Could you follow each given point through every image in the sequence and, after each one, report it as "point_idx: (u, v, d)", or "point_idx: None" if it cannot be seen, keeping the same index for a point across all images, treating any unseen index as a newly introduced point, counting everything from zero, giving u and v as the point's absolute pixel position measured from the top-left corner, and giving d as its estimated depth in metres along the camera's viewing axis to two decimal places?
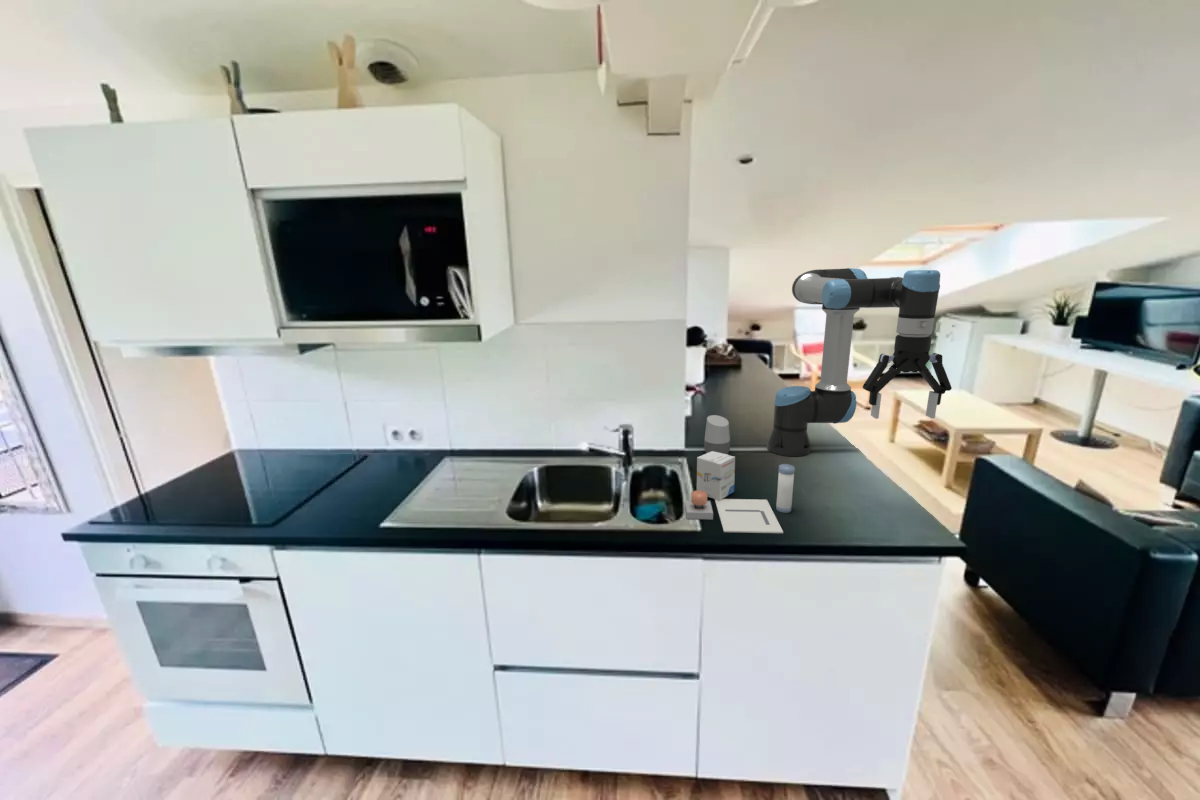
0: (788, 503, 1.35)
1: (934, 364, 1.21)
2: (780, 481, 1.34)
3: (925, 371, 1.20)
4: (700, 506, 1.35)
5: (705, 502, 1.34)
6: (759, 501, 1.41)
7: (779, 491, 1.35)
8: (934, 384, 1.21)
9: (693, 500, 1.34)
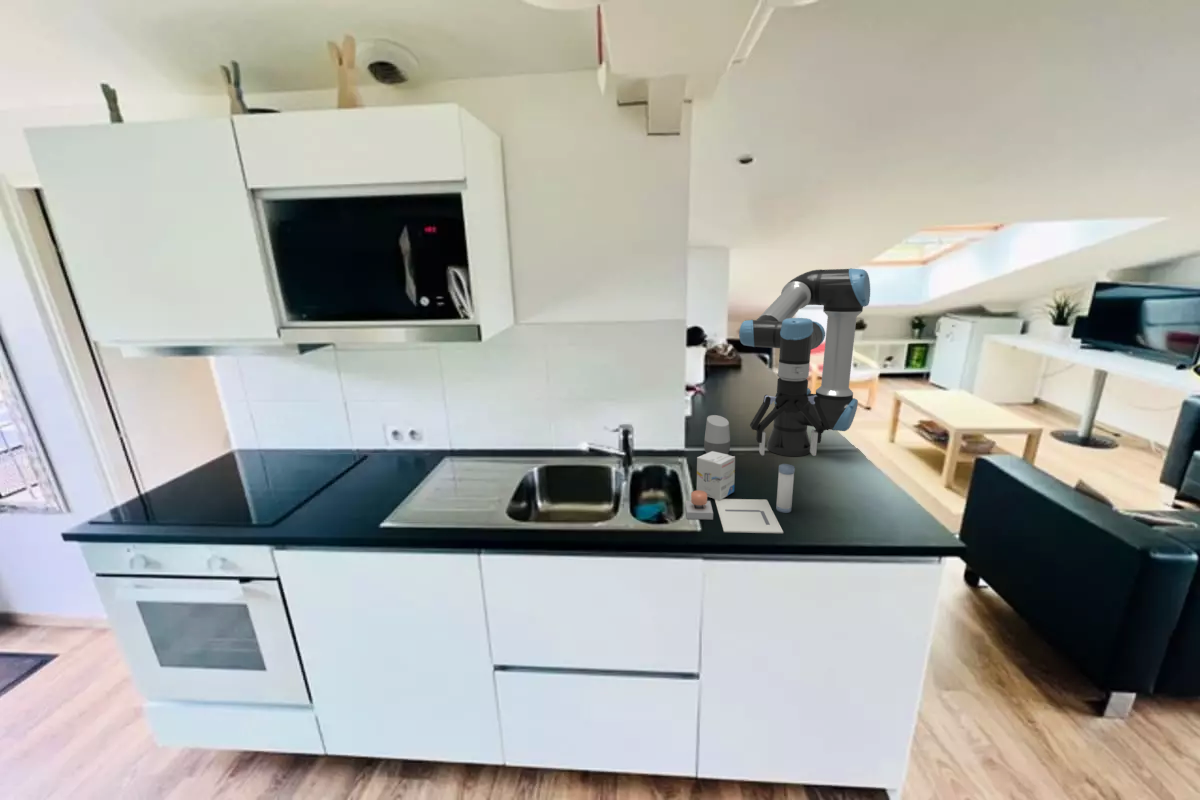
0: (788, 503, 1.35)
1: (813, 405, 1.29)
2: (780, 481, 1.34)
3: (804, 412, 1.28)
4: (700, 506, 1.35)
5: (705, 502, 1.34)
6: (759, 501, 1.41)
7: (779, 491, 1.35)
8: (813, 424, 1.29)
9: (693, 500, 1.34)
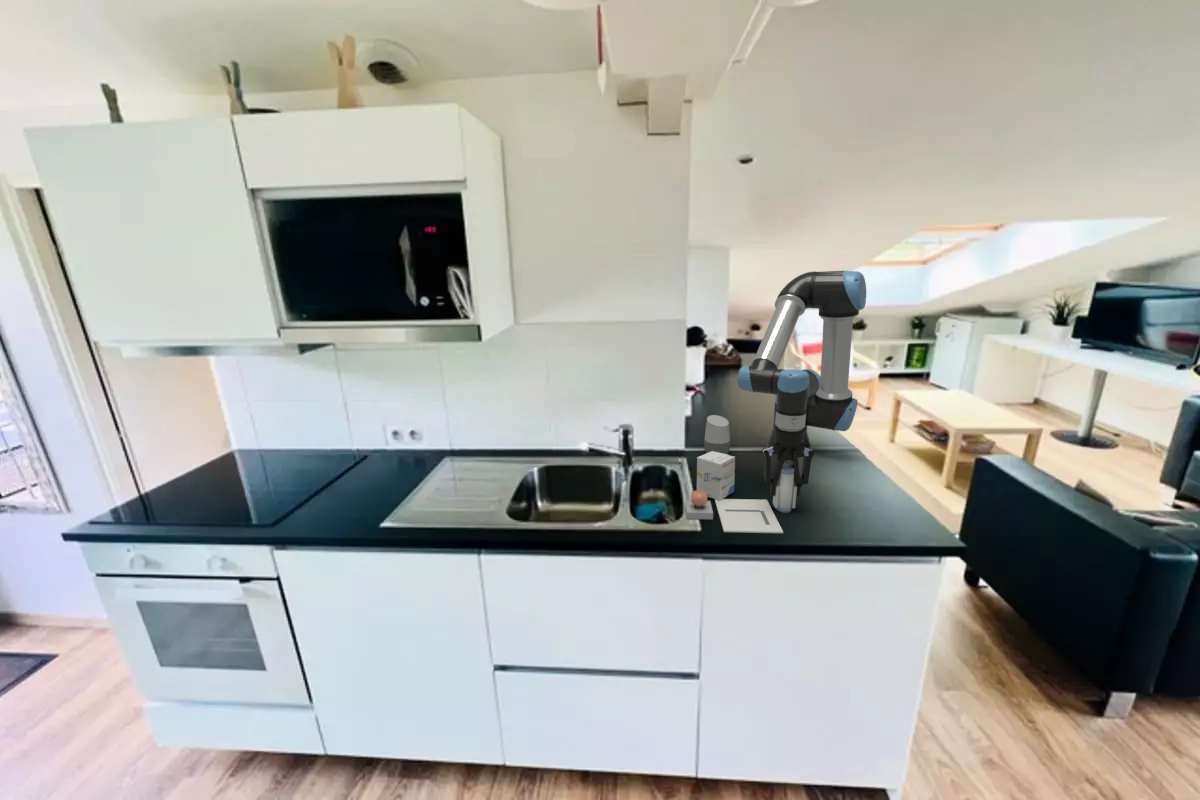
0: (788, 503, 1.35)
1: (805, 457, 1.33)
2: (780, 481, 1.34)
3: (795, 462, 1.31)
4: (700, 506, 1.35)
5: (705, 502, 1.34)
6: (759, 501, 1.41)
7: (779, 491, 1.35)
8: (796, 476, 1.33)
9: (693, 500, 1.34)
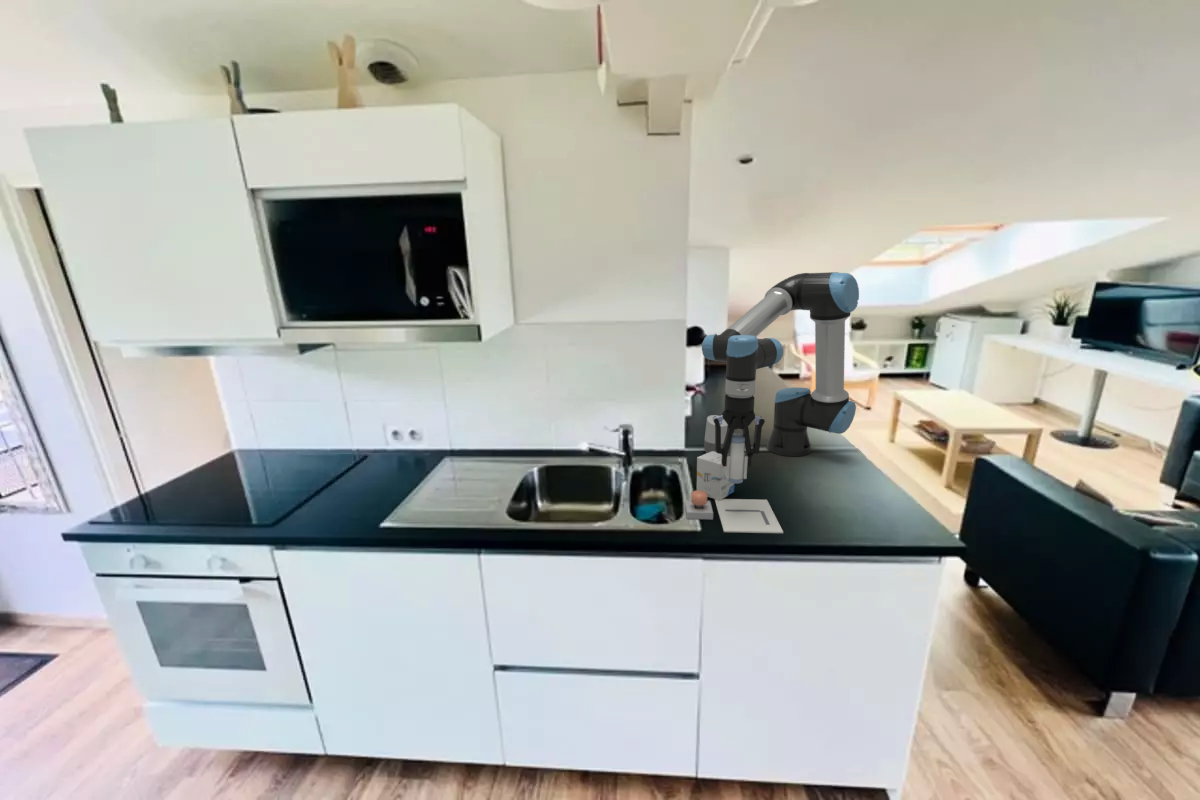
0: (739, 473, 1.31)
1: (756, 426, 1.29)
2: (731, 451, 1.31)
3: (745, 430, 1.28)
4: (700, 506, 1.35)
5: (705, 502, 1.34)
6: (759, 501, 1.41)
7: (730, 461, 1.32)
8: (747, 445, 1.30)
9: (693, 500, 1.34)
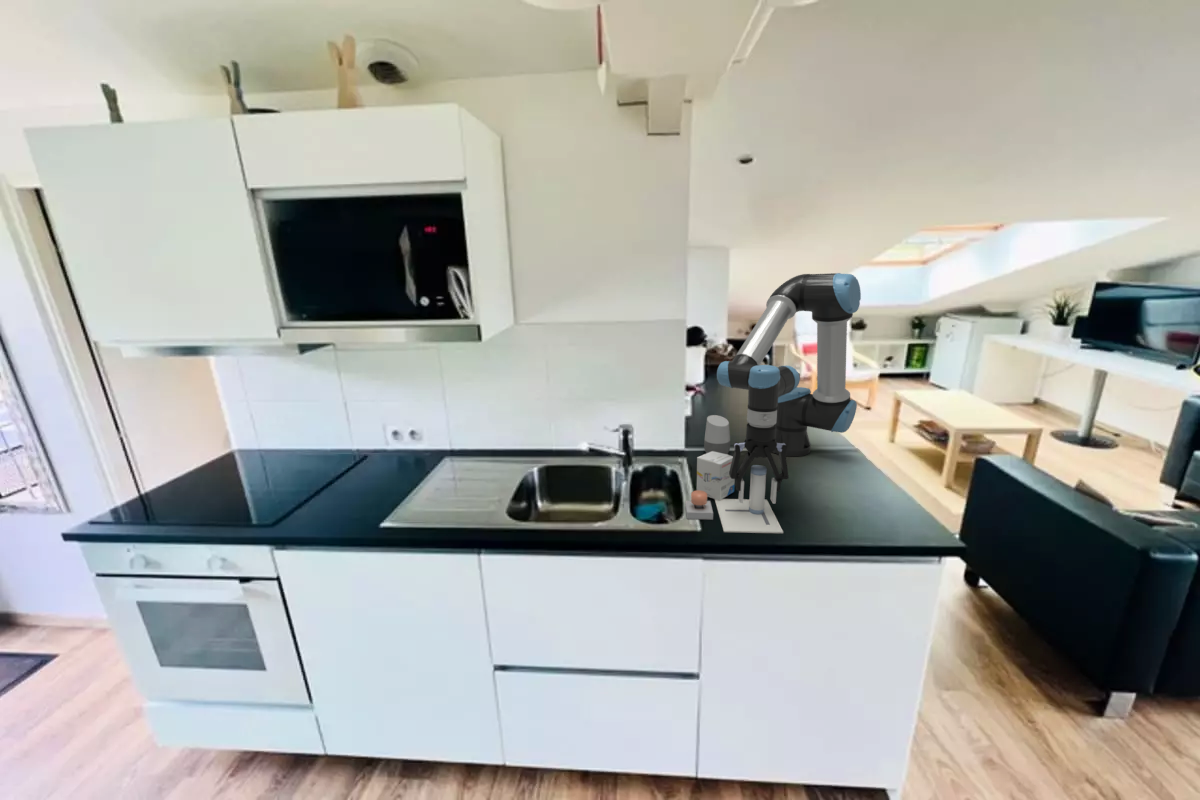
0: (760, 504, 1.33)
1: (779, 452, 1.31)
2: (752, 482, 1.33)
3: (769, 458, 1.30)
4: (700, 506, 1.35)
5: (705, 502, 1.34)
6: None
7: (751, 492, 1.34)
8: (775, 472, 1.31)
9: (693, 500, 1.34)
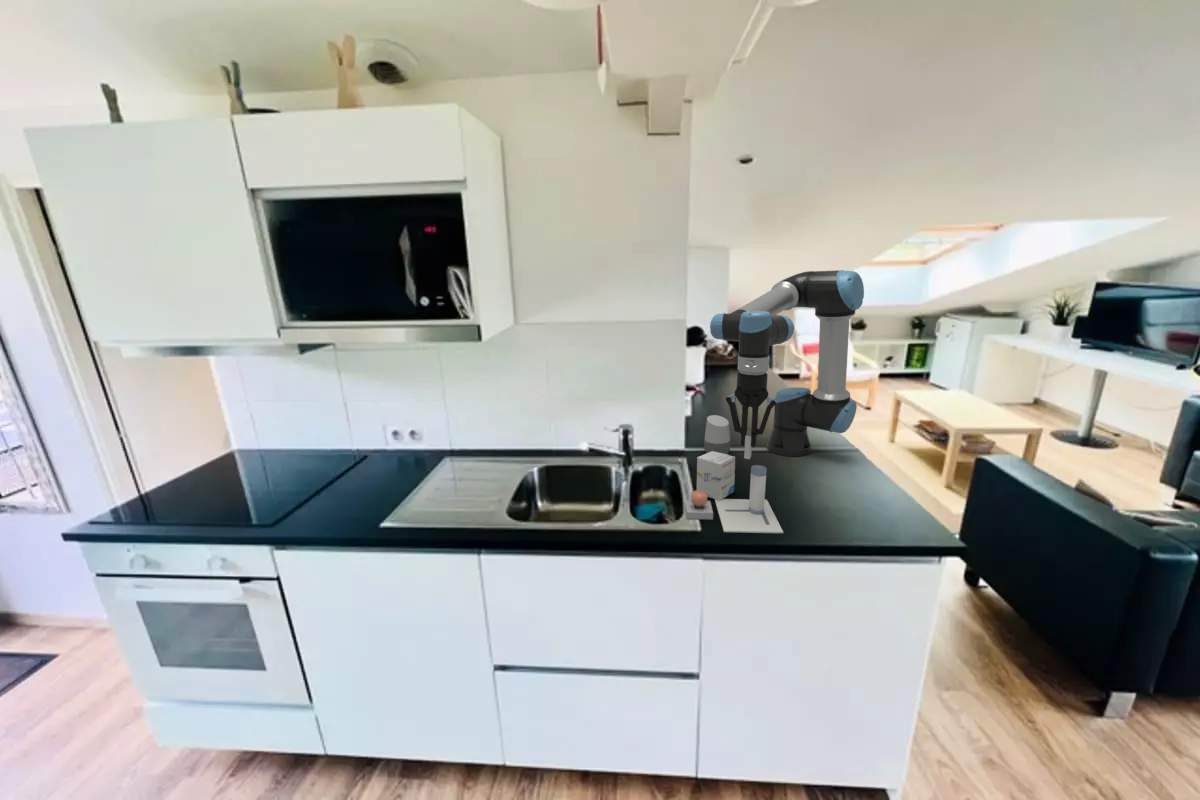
0: (760, 504, 1.33)
1: None
2: (752, 483, 1.33)
3: (753, 409, 1.26)
4: (700, 506, 1.35)
5: (705, 502, 1.34)
6: None
7: (751, 492, 1.34)
8: (752, 425, 1.28)
9: (693, 500, 1.34)
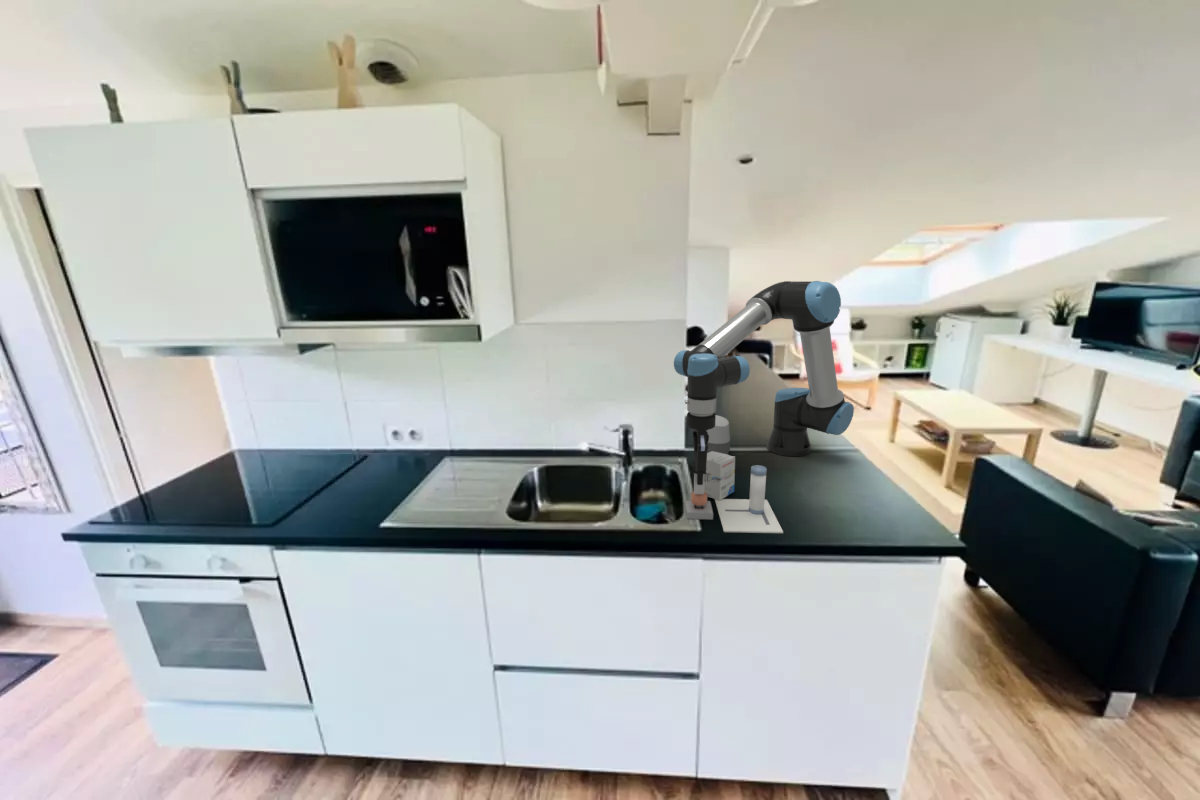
0: (760, 504, 1.33)
1: None
2: (752, 483, 1.33)
3: (694, 447, 1.30)
4: (700, 506, 1.35)
5: (705, 502, 1.34)
6: None
7: (751, 492, 1.34)
8: (695, 462, 1.32)
9: (693, 500, 1.34)
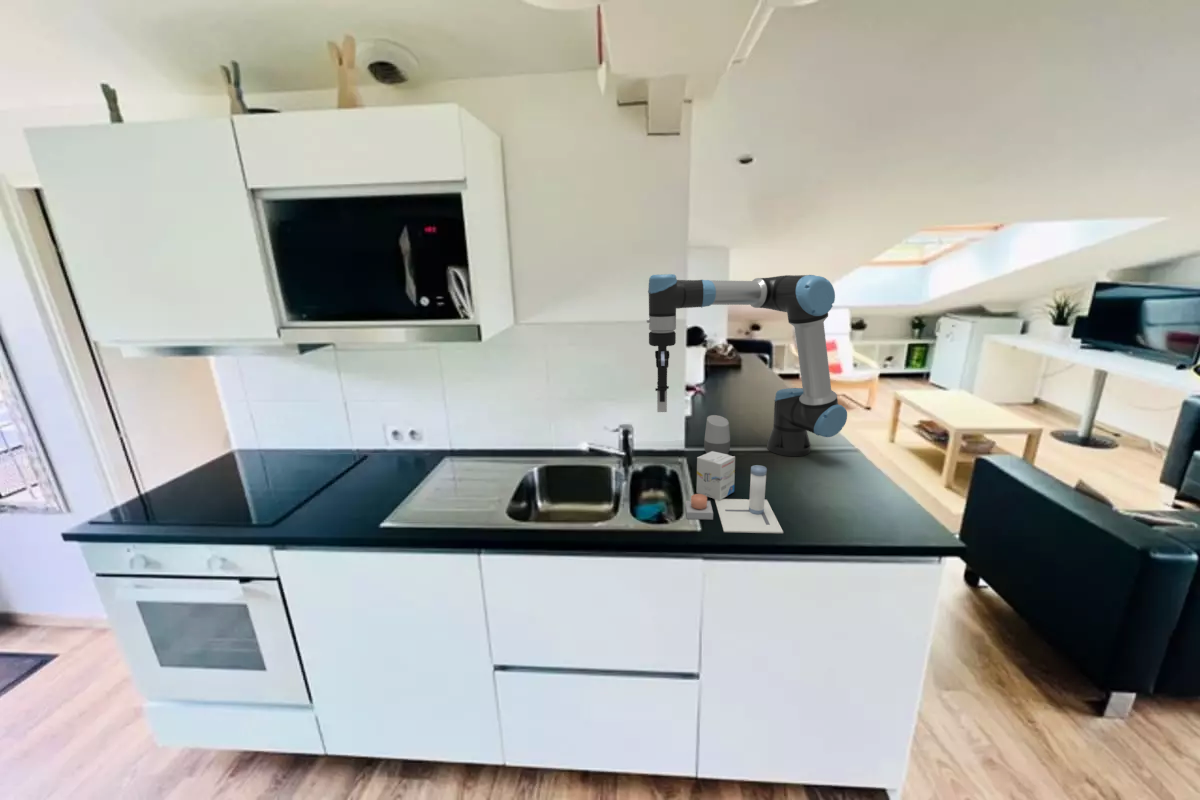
0: (760, 504, 1.33)
1: None
2: (752, 483, 1.33)
3: (656, 365, 1.38)
4: None
5: (705, 505, 1.34)
6: None
7: (751, 492, 1.34)
8: None
9: (693, 503, 1.35)
